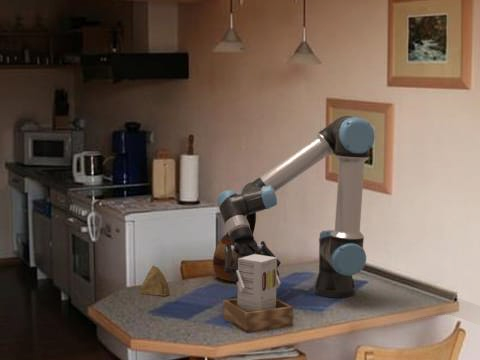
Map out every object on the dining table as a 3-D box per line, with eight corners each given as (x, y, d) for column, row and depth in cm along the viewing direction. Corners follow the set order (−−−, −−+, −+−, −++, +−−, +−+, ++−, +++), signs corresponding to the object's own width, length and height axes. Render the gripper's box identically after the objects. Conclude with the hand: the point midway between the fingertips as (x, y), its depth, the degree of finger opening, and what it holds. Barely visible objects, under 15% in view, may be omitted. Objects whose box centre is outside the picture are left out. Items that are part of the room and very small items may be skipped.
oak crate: (268, 312, 272) (268, 294, 271) (292, 325, 257) (293, 307, 257) (223, 318, 265) (223, 300, 264) (246, 332, 250) (246, 313, 249)
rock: (177, 288, 293) (166, 279, 301) (165, 272, 289) (154, 263, 297) (155, 309, 290) (144, 298, 298) (142, 293, 286) (131, 283, 294)
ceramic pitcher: (202, 279, 315) (202, 203, 311) (232, 270, 332) (233, 197, 328) (244, 287, 304) (244, 208, 300) (273, 276, 320) (274, 201, 317)
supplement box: (260, 315, 254) (261, 262, 252) (236, 309, 259) (236, 258, 257) (277, 308, 262) (277, 256, 259) (253, 303, 267) (254, 253, 265)
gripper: (268, 235, 277) (289, 289, 265) (202, 241, 266) (222, 298, 255) (276, 223, 272) (298, 277, 260) (209, 228, 261) (229, 285, 249)
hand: (260, 288), depth 257 cm, fingers closed on supplement box, 12 cm apart
